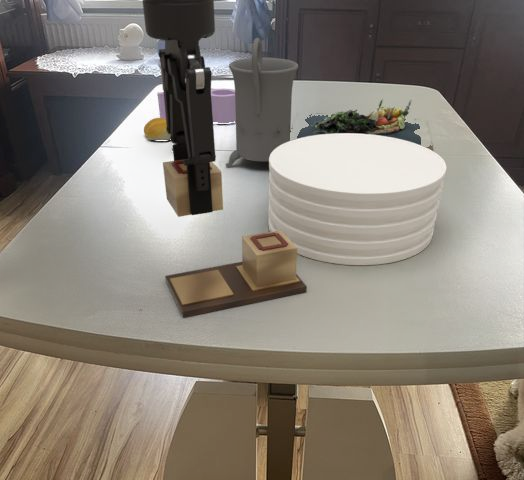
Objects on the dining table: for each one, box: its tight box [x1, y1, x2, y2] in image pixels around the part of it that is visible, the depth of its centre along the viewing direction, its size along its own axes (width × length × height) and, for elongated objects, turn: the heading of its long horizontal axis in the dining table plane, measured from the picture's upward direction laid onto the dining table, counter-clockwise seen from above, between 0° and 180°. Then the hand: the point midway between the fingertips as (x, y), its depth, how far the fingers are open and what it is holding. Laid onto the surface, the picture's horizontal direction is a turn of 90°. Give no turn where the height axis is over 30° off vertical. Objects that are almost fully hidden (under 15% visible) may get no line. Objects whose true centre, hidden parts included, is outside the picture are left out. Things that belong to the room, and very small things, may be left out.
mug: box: [225, 37, 299, 168], centre depth 111 cm, size 19×15×25 cm
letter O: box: [241, 230, 298, 287], centre depth 78 cm, size 6×6×5 cm
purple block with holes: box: [157, 87, 236, 123], centre depth 144 cm, size 20×12×7 cm, turn 81°
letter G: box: [162, 159, 224, 217], centre depth 71 cm, size 6×6×5 cm
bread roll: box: [143, 117, 171, 141], centre depth 133 cm, size 8×9×4 cm
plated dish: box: [297, 99, 435, 152], centre depth 136 cm, size 35×28×7 cm
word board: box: [164, 261, 308, 319], centre depth 78 cm, size 18×10×1 cm, turn 111°
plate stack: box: [268, 133, 447, 266], centre depth 91 cm, size 28×28×12 cm
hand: (194, 202), depth 72 cm, fingers closed on letter G, 6 cm apart
